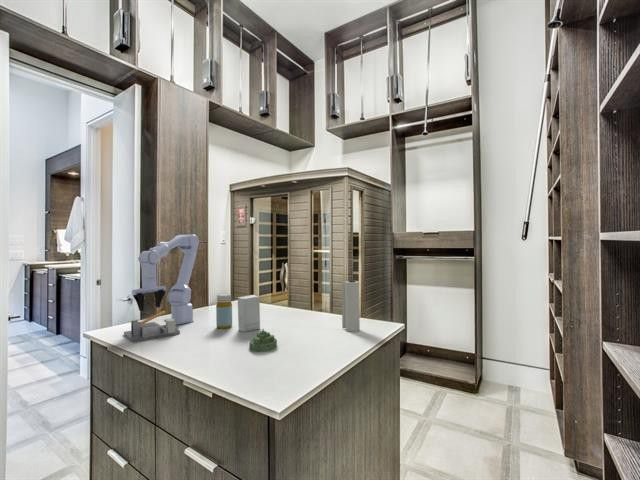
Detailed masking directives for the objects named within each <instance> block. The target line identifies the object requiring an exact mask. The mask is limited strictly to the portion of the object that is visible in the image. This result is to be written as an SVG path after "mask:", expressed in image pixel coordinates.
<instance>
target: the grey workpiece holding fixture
mask: <svg viewBox="0 0 640 480" xmlns="http://www.w3.org/2000/svg"><path fill="white" fill-rule="evenodd" d="M140 322H141V321H139V320H138V319H134V320H131V321H130V330H126V331H123V335H124V336H125V338H127V339H128V340H129V341H130V342H131V343H138V342H144V341H148V340H154V339H159V338H160V339H161V338H165V337H171V336H174V335H176V336H177V335H180V334H181V330H179V327H178V326H176V332H172V333H167V329H166V324H162V325H161V324H159V323H158V322H155V321H148V322H146V323H144V324H142V325H140Z"/></svg>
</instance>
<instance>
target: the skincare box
mask: <svg viewBox="0 0 640 480" xmlns="http://www.w3.org/2000/svg"><path fill="white" fill-rule="evenodd" d="M260 308H261V307H260V296H259V295H255V294H250V295H245V296H239V297H237V315H238V316H237V317H238V318H237V319H238V320H237V321H238V330H239V331H241V332H243V333H246V332H251V331H255V330H259V329H261V317H260V316H261V314H260V311H261V309H260Z"/></svg>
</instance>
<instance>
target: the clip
mask: <svg viewBox="0 0 640 480" xmlns="http://www.w3.org/2000/svg"><path fill="white" fill-rule="evenodd" d="M163 322H165V325H166V329H167V333H172V332H176V327H177V326H176V325H175V320H174V319H171V318H165V319H163Z"/></svg>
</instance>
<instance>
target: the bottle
mask: <svg viewBox="0 0 640 480" xmlns="http://www.w3.org/2000/svg"><path fill="white" fill-rule="evenodd" d="M216 297H217V298H216V306H215V310H216V318H215V319H216V328H217V329H222V330H223V329H230V328H232V326H233V303H232V294H231V293H220V294H217V296H216Z"/></svg>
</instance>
